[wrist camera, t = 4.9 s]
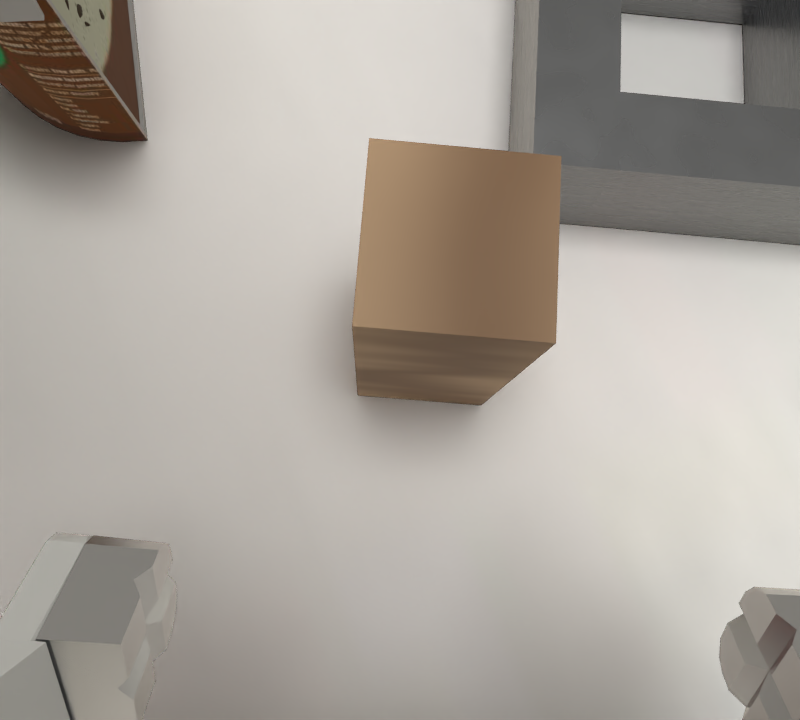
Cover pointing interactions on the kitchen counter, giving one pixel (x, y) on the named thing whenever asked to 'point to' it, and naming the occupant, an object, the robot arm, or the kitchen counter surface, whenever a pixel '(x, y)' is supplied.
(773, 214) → the steel socket
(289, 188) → the kitchen counter surface
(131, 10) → the food container
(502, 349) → the walnut key peg
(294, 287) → the kitchen counter surface
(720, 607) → the kitchen counter surface
